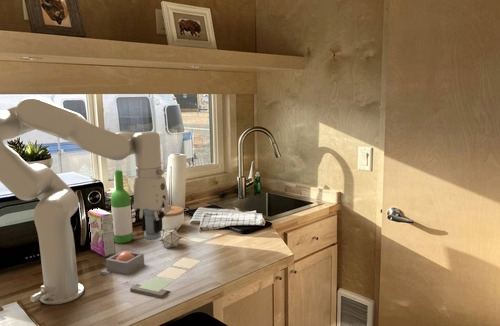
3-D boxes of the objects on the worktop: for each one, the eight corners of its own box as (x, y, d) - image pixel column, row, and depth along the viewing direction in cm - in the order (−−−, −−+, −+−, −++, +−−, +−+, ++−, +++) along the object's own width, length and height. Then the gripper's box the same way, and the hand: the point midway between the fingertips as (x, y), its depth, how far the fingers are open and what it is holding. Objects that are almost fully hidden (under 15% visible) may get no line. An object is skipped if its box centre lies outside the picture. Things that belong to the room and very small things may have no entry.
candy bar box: (90, 250, 165) (86, 210, 162) (101, 246, 168) (98, 207, 166) (104, 257, 157) (100, 215, 154) (116, 253, 161) (113, 212, 158)
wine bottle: (114, 245, 170) (109, 173, 165) (113, 239, 177) (107, 169, 172) (134, 242, 173) (129, 171, 168) (132, 236, 180) (127, 168, 175)
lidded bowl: (190, 228, 189) (189, 204, 188) (168, 235, 180) (167, 211, 178) (172, 222, 197) (171, 200, 196) (151, 229, 188) (149, 206, 186)
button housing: (128, 279, 138) (126, 265, 137) (100, 274, 143) (99, 260, 142) (150, 266, 149) (149, 252, 148) (124, 261, 153) (123, 248, 153)
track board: (161, 298, 125) (161, 294, 125) (130, 291, 130) (130, 287, 130) (208, 263, 150) (208, 260, 150) (180, 258, 155) (180, 255, 155)
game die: (174, 258, 164) (175, 244, 157) (155, 250, 165) (155, 236, 158) (184, 241, 171) (186, 227, 163) (165, 233, 172) (166, 219, 165)
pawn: (154, 241, 126) (152, 205, 124) (141, 238, 128) (138, 203, 126) (164, 235, 130) (162, 201, 129) (151, 233, 132) (149, 199, 131)
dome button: (126, 272, 142) (125, 256, 141) (113, 269, 144) (111, 254, 143) (138, 265, 147) (137, 250, 146) (124, 262, 149) (123, 248, 148)
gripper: (179, 172, 126) (181, 230, 129) (135, 168, 133) (138, 224, 136) (164, 177, 119) (167, 238, 122) (118, 173, 126) (122, 231, 129)
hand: (152, 230), depth 129 cm, fingers closed on pawn, 4 cm apart
